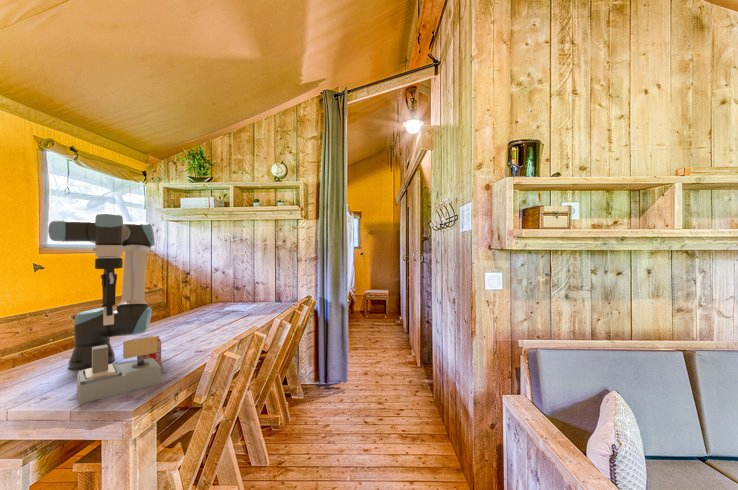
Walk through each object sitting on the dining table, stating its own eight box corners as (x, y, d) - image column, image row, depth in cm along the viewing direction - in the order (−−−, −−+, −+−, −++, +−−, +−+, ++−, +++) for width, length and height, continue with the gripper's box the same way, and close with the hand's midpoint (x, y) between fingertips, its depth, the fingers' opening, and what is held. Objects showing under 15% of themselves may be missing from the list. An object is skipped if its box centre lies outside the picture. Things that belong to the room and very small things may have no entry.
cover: (84, 373, 108) (84, 346, 109) (112, 367, 114) (112, 341, 114) (86, 382, 101) (86, 353, 102) (115, 375, 107) (115, 347, 107)
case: (77, 390, 109) (77, 370, 109) (152, 372, 124) (152, 355, 124) (79, 404, 99) (79, 382, 99) (161, 383, 114) (161, 364, 114)
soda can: (150, 370, 127) (150, 340, 127) (136, 368, 128) (136, 339, 129) (165, 363, 134) (165, 335, 134) (151, 362, 135) (151, 334, 136)
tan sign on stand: (123, 367, 113) (123, 340, 113) (156, 360, 120) (156, 335, 120) (124, 369, 111) (124, 342, 112) (157, 362, 118) (157, 336, 119)
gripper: (92, 257, 112) (92, 323, 111) (97, 258, 103) (97, 329, 103) (119, 257, 117) (118, 320, 117) (126, 257, 108) (125, 325, 108)
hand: (108, 324), depth 110 cm, fingers closed
